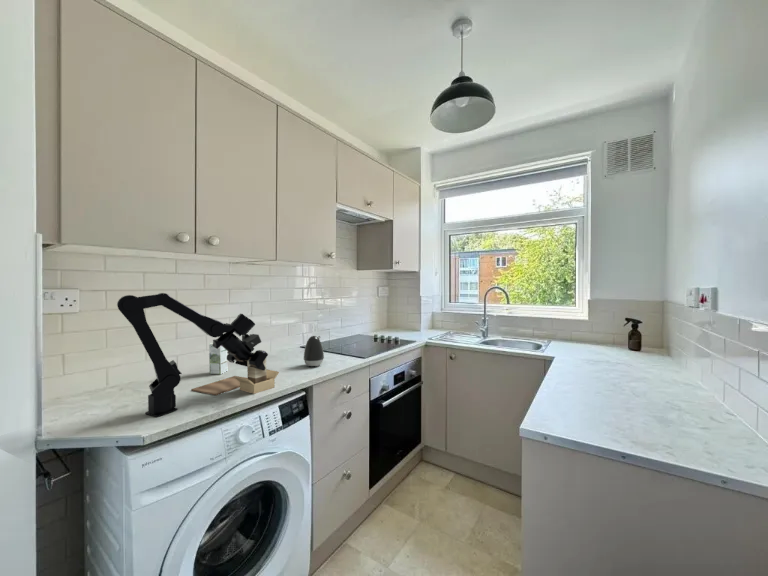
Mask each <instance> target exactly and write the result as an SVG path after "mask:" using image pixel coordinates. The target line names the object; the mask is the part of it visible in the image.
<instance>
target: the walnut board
mask: <svg viewBox="0 0 768 576" xmlns="http://www.w3.org/2000/svg"><path fill="white" fill-rule="evenodd" d="M235 376H236V377H240V378H244V379H248V377H244V376H240V375H239V376H238V375H232V376H230V377H227V378H223V379H221V380H217V381H214V382H210V383H207V384H204V385H201V386H197V387H194V388H191V390H190V391H191V392H197V393H201V394H207V395H211V394H212V396H219V395H221V393H222V394H224V392H225V393H227V392H230V391H233V390H236V389H240V382H239V381H238V380H237V379H235V378H234V377H235ZM218 394H219V395H218Z"/></svg>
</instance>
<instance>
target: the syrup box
mask: <svg viewBox="0 0 768 576" xmlns="http://www.w3.org/2000/svg"><path fill="white" fill-rule="evenodd" d="M212 345H213V341H212V342H210V343H209V344H208V348H209V350H208V351H209V354H208V355H209V356H208V357H209V375H223V374H225V373H224V372H226V371H228V369H229V368H228V360H227V355H228V353H227V352H228V351H227V350H226V349H225V348H223V347H222V346H220V347H219V348H218V349H216V348H215V347H213V346H212ZM222 373H223V374H222ZM226 373H227V372H226Z"/></svg>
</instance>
